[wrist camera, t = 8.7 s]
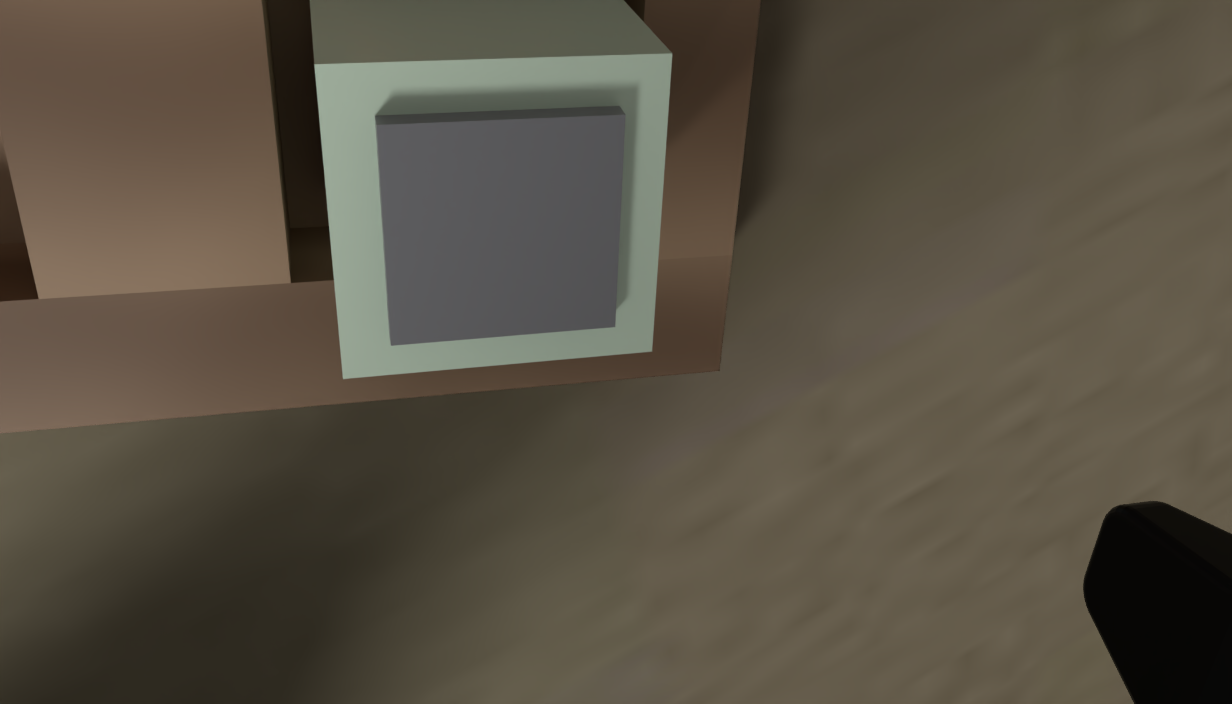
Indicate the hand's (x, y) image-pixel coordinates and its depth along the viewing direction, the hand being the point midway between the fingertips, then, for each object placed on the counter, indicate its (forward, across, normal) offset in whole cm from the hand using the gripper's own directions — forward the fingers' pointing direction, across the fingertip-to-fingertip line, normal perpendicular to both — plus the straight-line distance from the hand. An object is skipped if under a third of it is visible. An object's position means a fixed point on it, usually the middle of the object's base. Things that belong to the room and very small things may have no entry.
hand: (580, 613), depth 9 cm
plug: (+12, 0, 0) cm, 12 cm away
